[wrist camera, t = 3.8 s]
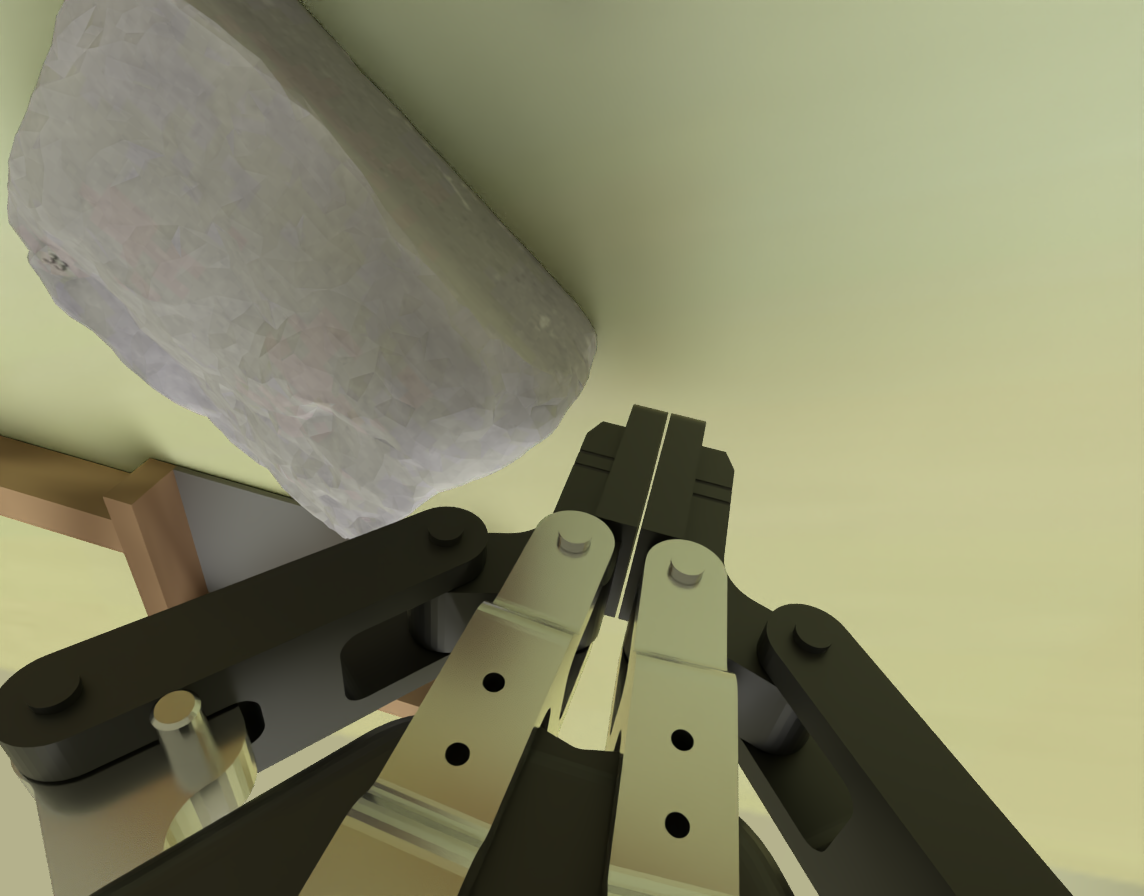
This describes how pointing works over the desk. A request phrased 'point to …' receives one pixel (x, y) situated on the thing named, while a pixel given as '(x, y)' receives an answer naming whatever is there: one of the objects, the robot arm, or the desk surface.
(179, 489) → the trap lane
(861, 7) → the desk surface
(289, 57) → the stone block
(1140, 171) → the desk surface
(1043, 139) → the desk surface
